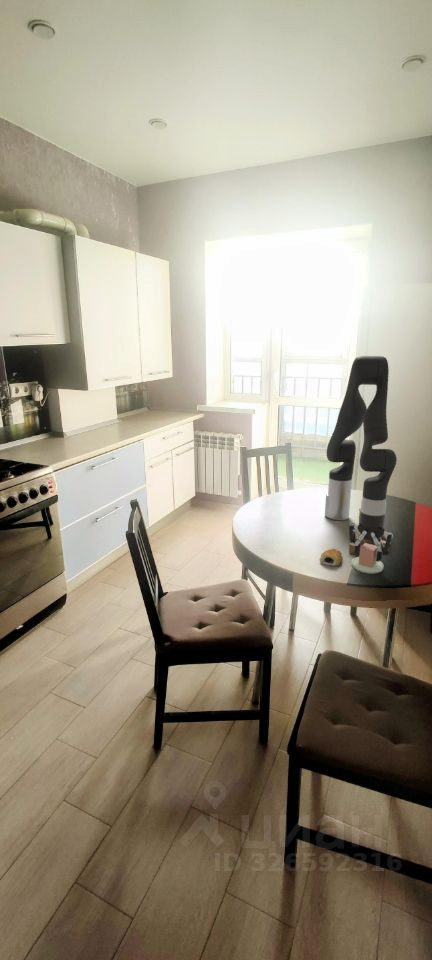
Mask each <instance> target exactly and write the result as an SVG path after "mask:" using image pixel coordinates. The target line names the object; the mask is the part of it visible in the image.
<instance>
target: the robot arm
mask: <svg viewBox="0 0 432 960" xmlns="http://www.w3.org/2000/svg"><path fill="white" fill-rule="evenodd" d="M389 374H390V372H389V362H388V359H387V357H385V356H384V355H383V356H381V355H359V356H356V357H355V358H354V360H353V362H352V365H351V368H350V373H349V377H348V382H347V386H346V389H345V390H346V391H345V394H344V397H343V401H342V403H341V406H340V409H339V412H338V416H337V420H336V422H335V423H336V424H335V426H334V430H333V431H332V434H331V436H330V438H329V441H328V444H327V446H326V447H327V448H326V459H327V461H329V462H331V463H341V465H339V466H337V467H334V468H332V469H331V470H329V473H328V487H327V489H328V491H327V494H326V495H325V504H324V505H325V507H324V517H327V518H328V519H330V520H334V521H346V520H348V519H349V518H350V511H351V510H350V506H351V495H352V484H353V483H352V482H353V474H354V466H355V460H356V459H355V458H356V452H357V451H356V449H357V448H356V443H355V441H354V440H353V439H347V438H348V437H351V435H353V434H354V433H356V432H357V431H358V430H359V429H360V428H361V427H363V444H362V445H363V446H362V450H361V453H360V457H359V466H360V468H361V469H362V470H363V472H366V473H367V472H368V473H372V472H373V473H378V474H377V475H375V476H371V477H367V478H366V479H365V480H364V481H363V487H362V489H363V490H362V495H361V496H362V498H361V500H360V501H361V502H360V508H359V509H360V520H359V519H358V524H355V523H351V524H350V525H349V526H348V534H349V535H348V536H349V538H348V539H349V543H354V544H355V554H356V555H355V554H354V555H355V557H359V555H360V547H361V544H360V543H361V541H362V540H363V539H365V540H370V541H373V542H374V543H375V545H376V546H377V549H378V551H377V558H376V561H377V562H379V561H381V560H382V559H383V557H384V556H383V555H384V551H385V552H388V551H389V550H390V549H391V545H392V541H393V538H394V534H395V533H394V532H392V531H391V532H389V531H386V530H385V519H386V512H387V494H388V493H387V491H388V486H389V483H390V479H391V477H392V475H393V472H394V470H395V468H396V466H397V461H398V458H397V454H396V453H395V451H394V450H393V449H390V448H373V447H374V446H376V445H377V446H378V445H381V444H384V443H386V442H387V441H388V439H389V434H388V433H389V431H388V421H387V405H388V404H387V403H388V402H387V401H388V392H389V391H388V389H389ZM361 385H362V386H376V390H375V395H374V397H373V399H371V400H372V401H371V402H370V403H369V405H368V407H367V405H366V402H365V400H364V398H363V397H362V395H361V392H360V390H359V388H360V387H361ZM362 425H363V426H362ZM357 530H358V532H359V535H360V537H359V538H358V540H357V536H356V531H357ZM383 536H384V539H385V541H386V544H385V546H383V543H382V540H383V539H382V537H383Z"/></svg>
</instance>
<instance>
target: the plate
mask: <svg viewBox="0 0 432 960" xmlns="http://www.w3.org/2000/svg"><path fill="white" fill-rule="evenodd" d="M351 567H352V568H353V569H355V571H358V572H359V573H364V574H370V575H372V574H373V575H375V574H379V573H381V572H383V571H384V563H383V562H382V561H381V560H380V561H379V562H377V561H376V564H375V565H374V566H373V567H372V568H371V567H367V566H363V565H360V564H359V556H355V557H354V558H352V560H351Z"/></svg>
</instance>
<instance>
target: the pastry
mask: <svg viewBox="0 0 432 960" xmlns="http://www.w3.org/2000/svg"><path fill="white" fill-rule="evenodd" d="M342 560H343V556H342V553H341V551H340V550H339V549H335V548H331V549H327V550H325V551H323V552H322V553H321V555H320V558H319V562H320V563H321V564H323V565H326V566H333V567H335V566H336V567H337V566H340V564H341V563H342Z"/></svg>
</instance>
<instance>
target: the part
mask: <svg viewBox="0 0 432 960" xmlns="http://www.w3.org/2000/svg"><path fill="white" fill-rule="evenodd" d="M377 551H378V549H377V546H375V545H371V544H367V543H364V544H363V545H362V546H361V547H360V555H359V556H358V557H359V564H360V565H363V566H367V567H371V568H372V567H373V566H374V565H375V564H376V558H377Z"/></svg>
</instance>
